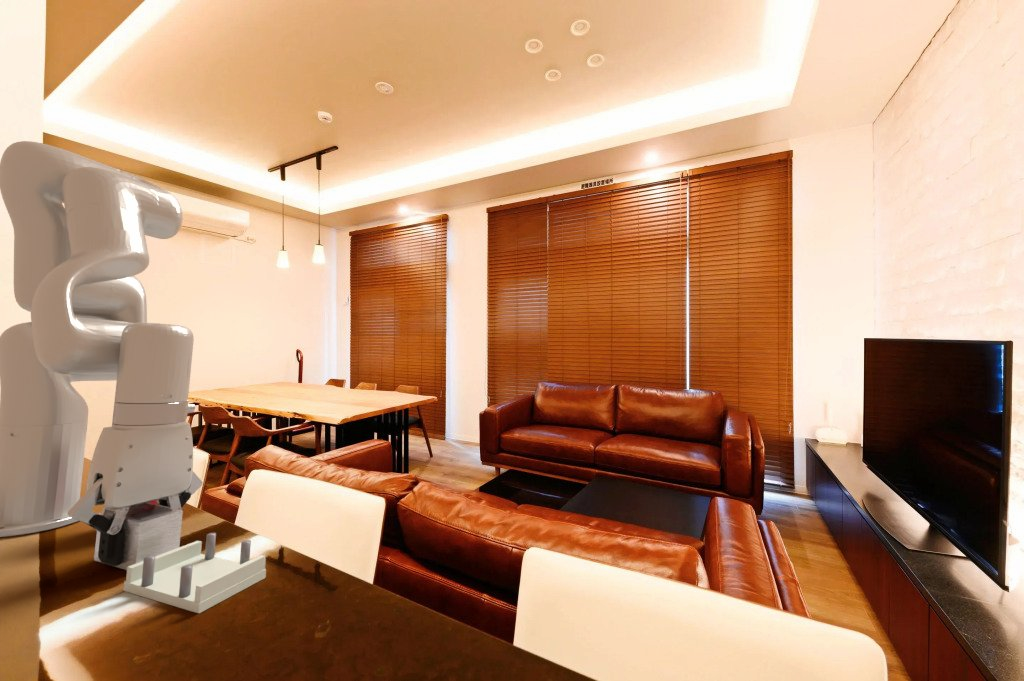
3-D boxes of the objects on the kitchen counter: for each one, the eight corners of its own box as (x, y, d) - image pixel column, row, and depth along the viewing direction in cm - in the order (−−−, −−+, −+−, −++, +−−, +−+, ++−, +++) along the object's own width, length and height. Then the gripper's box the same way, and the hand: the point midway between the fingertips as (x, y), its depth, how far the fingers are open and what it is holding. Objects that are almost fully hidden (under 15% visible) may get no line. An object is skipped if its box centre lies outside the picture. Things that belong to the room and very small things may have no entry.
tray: (123, 590, 47) (126, 554, 47) (196, 560, 55) (198, 529, 55) (198, 613, 43) (202, 574, 44) (265, 577, 51) (268, 544, 51)
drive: (93, 560, 53) (99, 511, 54) (138, 545, 58) (143, 500, 58) (135, 572, 51) (140, 521, 51) (178, 555, 56) (183, 508, 56)
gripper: (196, 407, 65) (185, 526, 64) (47, 419, 49) (29, 578, 48) (232, 411, 63) (221, 534, 61) (87, 425, 46) (69, 592, 45)
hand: (137, 552), depth 55 cm, fingers closed on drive, 5 cm apart
